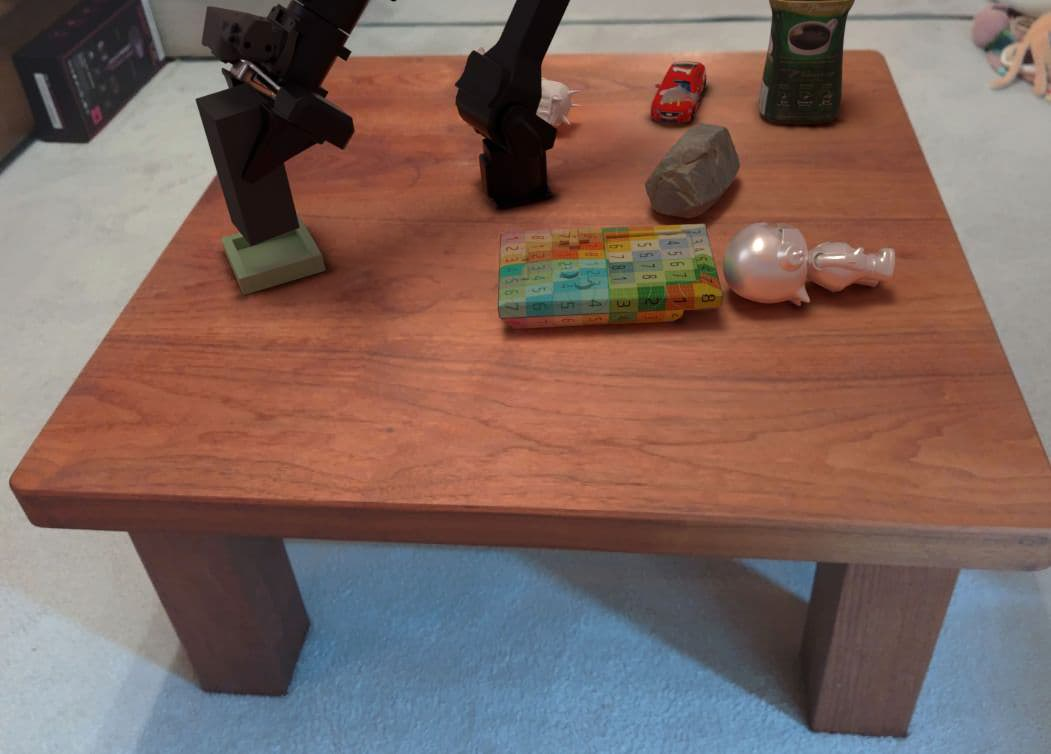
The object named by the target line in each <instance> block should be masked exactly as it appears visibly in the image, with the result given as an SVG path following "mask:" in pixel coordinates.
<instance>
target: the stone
mask: <svg viewBox="0 0 1051 754" xmlns="http://www.w3.org/2000/svg"><path fill="white" fill-rule="evenodd" d="M740 167H741V161H740V158H739V154H738V152H737V150H736V145H735V144H734V141H733V138H732V136H731V134H730V131H729V129H728V128H727V127H726V126H723V125H718V124H710V123H703V122H701V123H699V124H696V125H694V126H692V127H690V128H689V129H687V130H686V131H685V132H684V133H683V134H682V135H681V136H680V137H679V138H678V139H677V141H676V142H675V143H674V144H673V145H672V146H671V148H670V149H669V150H668V151H667V152H666V154H665V155H664V156H663V158H662V159H661V160H660V161H659V163H658V164H657V166H656V167H655V169H654V170H653V171H652V172H651V174H650V176H649V177H648V178H647V180H646V181H645V183H644V187H645V191H646V195H647V197H648V199H649V202H650V205H651V206H652V208H653V210H655V211H656V212H657V213H658V214H659V213H660V214H663V215H667V216H673V217H679V218H684V219H685V218H686V219H694V218H697V217H698V216H701V215H702V214H704V213H706V212H707V211H708V210H709V209H710V208H711V207H712V206H714V205H715V204H716V203H717V202H718V201H719V200H720V198H722V196H723V195H724V194H725V192H726V191H727V189H728V188H729V187H730V186H731V184H732V183H733V181H735V178H736V176H737V174H738V172H740V171H739V170H740Z"/></svg>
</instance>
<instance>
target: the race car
mask: <svg viewBox="0 0 1051 754" xmlns="http://www.w3.org/2000/svg"><path fill="white" fill-rule="evenodd" d="M654 86H655V88H658V89H657V91H656V92H655V95H654V97H653V100H652V101H651V104H650V118H651V119H653V120H655V121H657V122H661V123H665V124H666V123H667V124H684V123H689V122H690V123H691V122H693V121H694V117H695V114H696V112H697V109H698V106H699V104H700V102H701V100H702V98H703V96H704V94H705V91H706V87H707V71H706V66H705V64H704V63H702V62H699V61H689V60H678V61H675V62H672V63H671V65H670V66H669V67H668V69H667V70H666V72H665V75H664V77H663V79H662V81H661V83H660V84H658V83H656V84H655V85H654Z"/></svg>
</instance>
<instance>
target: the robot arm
mask: <svg viewBox="0 0 1051 754" xmlns="http://www.w3.org/2000/svg"><path fill="white" fill-rule="evenodd" d="M370 1H371V0H290V1H289V3H288V5H287V6H283V5H282V4H280V3H277V5H273V6H272V7H271V8H270V10H269V13H268V14H267V16H261V15H257V14H253V13H250V12H244V11H239V10H234V9H229V8H223V7H218V6H213V5H211V6H206V10H205V16H204V23H203V30H202V36H201V46H203V47H208V49H209V50H211V51H210V54H211V55H212V56H214V57H215V58H216V59H217V60H218V61H219V62H221V63H223V64H225V65H227V64H230V65H231V67H230V69H229V70H228V69H226V68H224V67H221V74H222V75H223V77H224V79H225V81H226V85H227V89H228V88H232V87H235V86H238V85H241V84H244V83H249V84H250V85H251V86H253V87H254V88H255V89H256V90H257V91H258V92H259V93H260V94H261V95H262V96H263V97H264V98H265V99H266V100H267V101H268V102H269V103H270V106H268V105H266V104H264V103H262V102H261V101H259V108H260V112H261V116H262V121H263V125H262V128H261V130H260V132H259V135H258V137H257V139H256V142H255V144H254V146H253V148H252V151H251V153H250V155H249V158H248V160H247V163H246V165H245V168H244V171H243V173H242V176H241V178H242V179H243V180H244V181H246V182H248V183H250V184H252V183H254V182H256V181H257V180H259V179H260V178H262V177H263V176H265V175H266V174H268V173H269V172H271V171H272V170H274V169H275V168H277V167H278V166H280V165H281V164H283V163H284V164H285V163H286V162H287V161H289V160H290V159H293V158H294V157H296V156H297V155H299V154H301V153H303V152H304V151H307V150H308V149H310V148H311V147H314V146H315V145H317V144H319V145H323V144H325V142H327V143H329V144H331V145H333V146H334V147H336V148H338V149H339V150H341V151H342V150H343V151H345V149H346V148H347V146H348V144H349V142H350V141H351V140H352V137H353V136H354V134H355V132H356V130H355V125H354V121H353V117H352V116H351V115H350V114H348V113H347V112H346V111H344V110H343V108H341V107H339V106H338V105H337V104H335V103H334V102H332V101H330V100H328V99H327V95H329V90H327V89H326V88H325V87H323V83H324V81H325V80H326V78H327V77H328V75H329V73H330V71H331V69H332V68H333V66H334V64H335V62H336V60H337V59H338V58H340V59H341V60H343V61H345V62H347V61H348V60H349V58H350V56H351V54H352V52H353V51H352V50H351V49H349V48H347V47H346V46H345V45H346V43H347V41H348V40H349V38H350V36H351V35H352V33H353V31H354V29H355V28H356V25H357V24H358V22H359V20H360V19H361V17H362V15H363V14H364V12H365V10H366V8H367V6H368V5H369V3H370ZM390 2H393V3H395V2H397V0H390ZM570 2H571V0H515V2H514V3H513V7H512V8H511V11H510V13H509V16H508V18H507V20H506V22H505V25H504V27H503V30H502V31H501V34H500V37H499V39H498V40H497V41H496V43H495V44H493V46H492V47H490V48H489V49H488V50H487V51H485V53H484V54H483V55H482V54H480V53H478V52H477V51H476V50H475V49H473V50H471V52H470V53H469V55H468V56H467V59H466V62H465V66H464V69H463V72H462V74H461V76H460V77H459V78H458V80H457V81H455V83H454V86H455V88H457V92H456V95H455V103H454V104H455V106H456V109H457V112H458V115H459V117H460V118H461V120H462V121H463V122H465V123H467V124H468V125H469V126H471V127H472V129H473V131H474V132H475V134H477V135H480V136H481V137H482V138H483V137H484V138H483V139H481V142H482V152H483V153H479V155H478V163H479V173H480V181H481V182H480V184H481V188H482V189H483V191H484V193H485V195H486V197H488V198H489V199H491V201H492V203H493V205H494V206H495V208H496V209H498V210H503V209H509V208H514V207H518V206H522V205H526V204H531V203H535V202H541V201H545V200H550V199H553V197H554V192H553V190H552V189H551V187H550V186H549V184H548V164H547V161H548V160H547V151H549V150H552V149H553V148H554V146H555V142H556V138H557V134H558V128H556V126H555V127H554V126H552V125H551V124H549V123H548V122H546V121H545V120H543V119H542V118H541V117H539V116H538V115H536V113H537V110H538V107H539V104H540V100H541V97H542V77H543V75H542V73H543V72H542V65H543V62H544V59H545V57H546V55H547V53H548V50H549V48H550V46H551V44H552V41H553V40H554V37H555V35H556V33H557V31H558V28H559V26H560V25H561V22H562V19H563V18H564V15H565V13H566V11H567V9H568V7H569V5H570ZM273 94H274V95H273Z"/></svg>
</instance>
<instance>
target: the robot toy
mask: <svg viewBox="0 0 1051 754" xmlns="http://www.w3.org/2000/svg"><path fill="white" fill-rule="evenodd" d="M475 51H477V52H478V53H480V54H482V55H483V54H484V53H486V50H485V48H484V46H478V47H476V50H475ZM579 92H581V90H579V89H577V90H570V88H569V87H568V86H567V85H566V84H564V83H563V82H559V81H556V80H549V79H547V78H545V77H543V76H542V97H541V100H540V104H539V107H538V110H537V113H536V115H538V116H539V117H541V118H542V119H543V120H545V121H546V122H548V123H549V124H551V125H552V126H554V127H555V128H556V126H557V127H559V126H560V125H561V124H562V123H565V124H567V125H570V126H571V123H570V121H569V119H568V118H567V117H568V116H569V113H570V112H571V109H572V108H576V107H578V108H579V107H584V105H582V104H576V103H573V99H572V96H573V95H575V94H577V93H579ZM573 112H575V110H573Z"/></svg>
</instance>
